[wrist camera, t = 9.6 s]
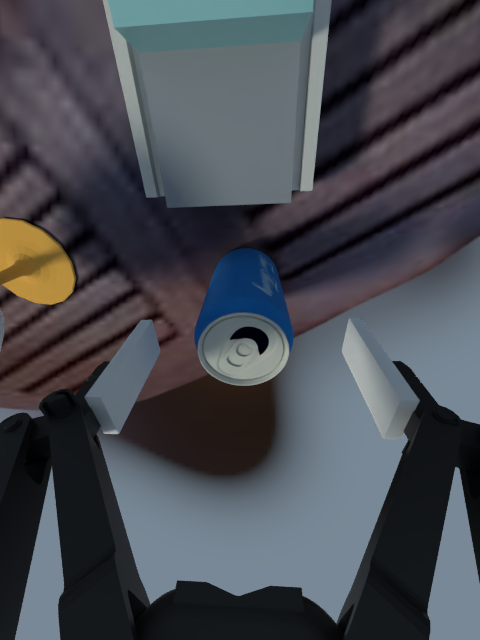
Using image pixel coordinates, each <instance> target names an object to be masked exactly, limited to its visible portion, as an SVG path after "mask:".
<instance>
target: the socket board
mask: <svg viewBox="0 0 480 640" xmlns="http://www.w3.org/2000/svg"><path fill="white" fill-rule="evenodd" d="M331 1H332V0H314V3H313V13H312V15H311V17H310V20H309V22H308V25H307V27H306V30H305V32H304V34H303V37H302V39H301V46H300V63H299V79H298V95H297V111H296V127H295V143H294V159H293V176H292V190H300V191H312V188H313V178H314V168H315V159H316V149H317V139H318V129H319V119H320V109H321V100H322V90H323V80H324V70H325V60H326V50H327V41H328V31H329V21H330V11H331ZM103 3H104V7H105V12H106V16H107V21H108V25H109V30H110V35H111V39H112V44H113V48H114V53H115V57H116V62H117V66H118V71H119V76H120V80H121V85H122V89H123V94H124V98H125V103H126V107H127V112H128V116H129V121H130V126H131V130H132V135H133V139H134V144H135V148H136V153H137V157H138V162H139V166H140V171H141V176H142V180H143V185H144V189H145V194H146V198H153V197H159V196H165V193H164V187H163V182H162V177H161V171H160V166H159V160H158V155H157V149H156V144H155V138H154V133H153V127H152V122H151V116H150V111H149V105H148V100H147V95H146V89H145V84H144V78H143V73H142V67H141V62H140V56H139V53H138V52H137V51H136V50H135V49H134V48H133V47H132V45H131V44H130V43H129V42H128V41H127V40H126V39H125V38H124V37H123V36H122V35H121V34H120V33H119V32H118V31H117V30H116V29H115V28H114V26H113V21H112V16H111V12H110V7H109V2H108V0H103Z"/></svg>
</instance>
